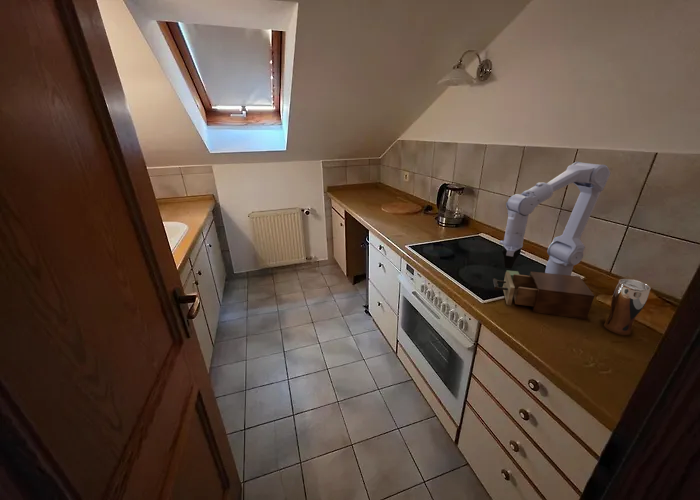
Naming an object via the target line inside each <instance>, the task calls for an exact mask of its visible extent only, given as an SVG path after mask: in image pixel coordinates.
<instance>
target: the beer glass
mask: <svg viewBox="0 0 700 500" xmlns="http://www.w3.org/2000/svg"><path fill="white" fill-rule="evenodd" d="M651 289H652V288H651V286H650V285H648V284H647V283H645V282H643V281H640V280H637V279H633V278H620V279H619V280H618V282H617V285H616V287H615V288H614V291H613V292H612V296H611V302H610V310H609V315H608V317H607V319H606V320H605V321H604V323H603V326H604V328H605V329H606V330H608V331H609V332H611V333H614V334H615V335H616V334H617V335H620V336H629V335H631V333H632V328H633V324H634V322H635V320H636V318H637V317H638V315H639V314H641V312H642V311H643V309H644V308H645V305H646V304H647V302H648V299H649V295H650V292H651Z"/></svg>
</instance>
